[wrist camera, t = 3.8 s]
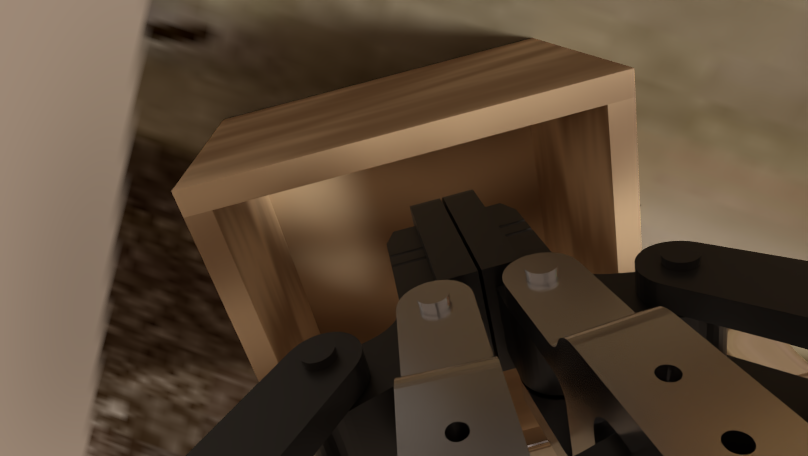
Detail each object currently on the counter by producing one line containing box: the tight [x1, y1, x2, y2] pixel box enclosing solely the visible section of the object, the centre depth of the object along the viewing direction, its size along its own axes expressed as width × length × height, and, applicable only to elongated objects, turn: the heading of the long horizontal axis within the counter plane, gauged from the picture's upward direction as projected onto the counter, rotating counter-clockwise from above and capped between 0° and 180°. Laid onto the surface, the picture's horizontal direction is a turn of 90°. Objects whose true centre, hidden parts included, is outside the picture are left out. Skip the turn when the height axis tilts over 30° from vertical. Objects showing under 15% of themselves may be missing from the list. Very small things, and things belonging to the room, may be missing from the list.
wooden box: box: [171, 38, 642, 456], centre depth 26 cm, size 16×16×10 cm
